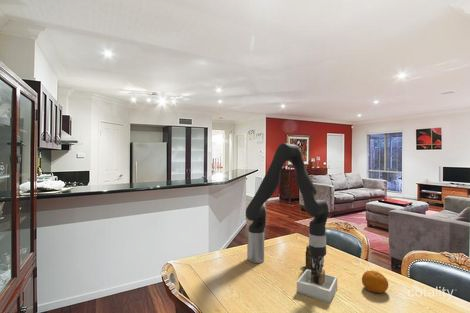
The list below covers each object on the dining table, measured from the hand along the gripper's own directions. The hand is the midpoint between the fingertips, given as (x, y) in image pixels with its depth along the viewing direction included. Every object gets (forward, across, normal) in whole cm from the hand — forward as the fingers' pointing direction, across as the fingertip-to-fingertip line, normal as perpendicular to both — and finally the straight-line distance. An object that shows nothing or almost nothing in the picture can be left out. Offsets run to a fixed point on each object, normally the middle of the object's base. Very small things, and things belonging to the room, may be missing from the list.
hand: (317, 280), depth 111 cm
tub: (+5, 0, 0) cm, 5 cm away
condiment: (+5, -19, -9) cm, 21 cm away
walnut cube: (+1, 0, 0) cm, 1 cm away
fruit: (+5, -15, +22) cm, 27 cm away
